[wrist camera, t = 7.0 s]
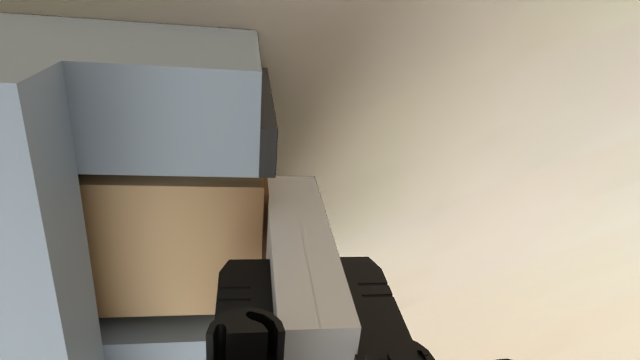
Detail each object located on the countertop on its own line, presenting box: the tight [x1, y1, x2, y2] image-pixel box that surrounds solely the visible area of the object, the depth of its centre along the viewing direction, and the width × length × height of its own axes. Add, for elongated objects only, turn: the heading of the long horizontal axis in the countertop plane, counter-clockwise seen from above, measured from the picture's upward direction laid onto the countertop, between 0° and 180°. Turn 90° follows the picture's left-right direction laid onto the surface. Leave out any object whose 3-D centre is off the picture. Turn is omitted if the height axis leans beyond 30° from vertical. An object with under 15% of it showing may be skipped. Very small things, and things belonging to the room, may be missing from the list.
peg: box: [78, 174, 269, 318], centre depth 13 cm, size 12×4×4 cm, turn 85°
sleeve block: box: [0, 13, 278, 360], centre depth 13 cm, size 12×10×9 cm
